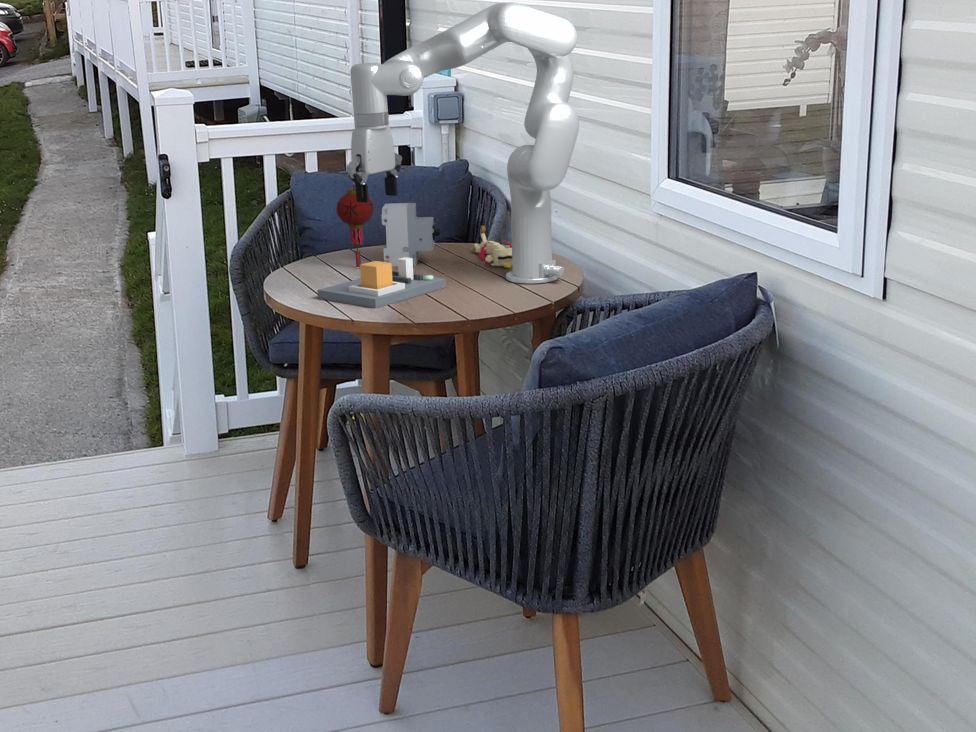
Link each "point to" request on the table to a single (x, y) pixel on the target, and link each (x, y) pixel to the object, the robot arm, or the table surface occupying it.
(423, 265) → the table surface
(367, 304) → the panel
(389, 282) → the lockout cap
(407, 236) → the circuit breaker
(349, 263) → the table surface
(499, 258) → the cat figure
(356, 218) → the lantern
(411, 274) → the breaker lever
